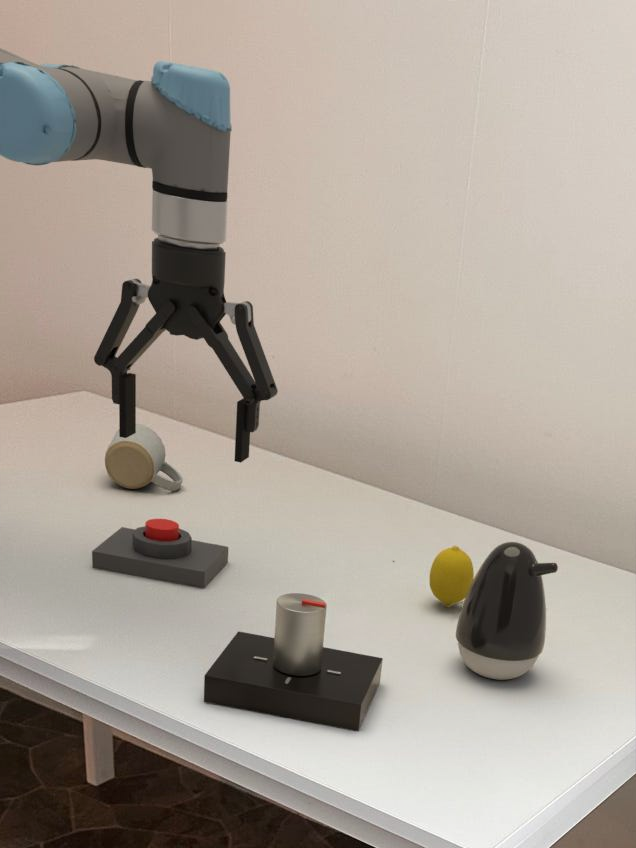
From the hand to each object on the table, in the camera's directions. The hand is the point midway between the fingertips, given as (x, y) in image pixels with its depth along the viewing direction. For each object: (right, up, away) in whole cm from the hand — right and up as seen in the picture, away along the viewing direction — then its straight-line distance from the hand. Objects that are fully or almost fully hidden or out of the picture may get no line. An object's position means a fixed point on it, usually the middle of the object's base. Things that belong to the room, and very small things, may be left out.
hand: (184, 447), depth 135 cm
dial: (+15, -27, -12) cm, 33 cm away
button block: (-6, -10, +14) cm, 18 cm away
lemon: (+30, -15, +17) cm, 37 cm away
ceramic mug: (-16, +8, +39) cm, 43 cm away
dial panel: (+14, -29, -10) cm, 34 cm away
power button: (-6, -7, +12) cm, 15 cm away
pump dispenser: (+36, -25, +2) cm, 44 cm away
